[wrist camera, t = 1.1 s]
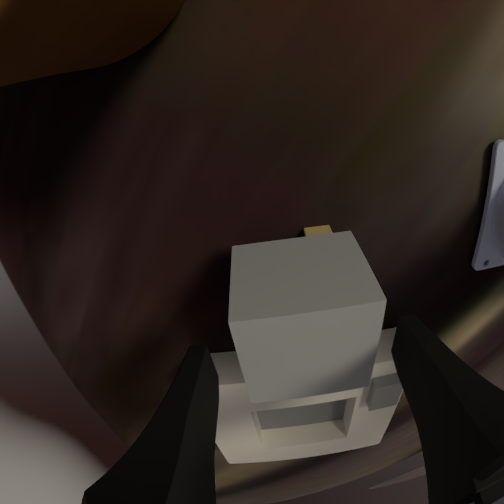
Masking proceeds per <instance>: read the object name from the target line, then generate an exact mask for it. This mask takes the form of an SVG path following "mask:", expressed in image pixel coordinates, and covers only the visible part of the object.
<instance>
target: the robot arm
mask: <svg viewBox="0 0 504 504" xmlns="http://www.w3.org/2000/svg"><path fill="white" fill-rule="evenodd" d="M501 265H504V140H497V141H496V142H495V143H494V145H493V149H492V159H491V167H490V175H489V182H488V189H487V195H486V201H485V207H484V212H483V217H482V222H481V227H480V231H479V236H478V240H477V244H476V248H475V252H474V256H473V260H472V267H473V268H474V269H475V270H476V271H479V270H483V269H488V268H492V267H497V266H501ZM391 353H392V357H393V361H394V365H395V368H396V372H397V375H398V377H399V380H400V382H401V385H402V388H403V390H404V393H405V395H406V398H407V400H408V403H409V405H410V408H411V411H412V413H413V416H414V418H415V422H416V425H417V428H418V432H419V437H420V441H421V446H422V451H423V456H424V461H425V469H426V476H427V485H428V500H429V504H504V391H503V390H501V389H500V388H498V387H496V386H495V385H493V384H492V383H490V382H489V381H488V380H486V379H485V378H484V377H482V376H481V375H479V374H478V373H477V372H475V371H474V370H473V369H472V368H471V367H469V366H468V365H467V364H466V363H465V362H464V361H462V360H461V359H460V358H459V357H458V356H457V355H456V354H455V353H454V352H452V351H451V350H450V349H449V348H448V347H447V346H446V345H445V344H444V343H443V342H442V341H441V340H440V339H439V338H438V337H437V336H436V335H435V334H434V333H433V332H432V331H431V330H430V329H429V328H428V327H427V326H426V325H425V324H424V323H423V322H422V321H421V320H420V319H419V318H418V317H417V316H415V315H414V314H408V315H403V316H399V319H398V324H397V328H396V332H395V337H394V341H393V345H392V349H391ZM218 408H219V376H218V373H217V371H216V368H215V365H214V363H213V360H212V357H211V355H210V352H209V349H208V347H207V344H203V345H191V346H190V347H189V348H188V350H187V353H186V355H185V357H184V360H183V362H182V364H181V366H180V368H179V370H178V372H177V375H176V377H175V379H174V380H173V382H172V384H171V386H170V388H169V390H168V392H167V394H166V396H165V397H164V399H163V401H162V402H161V404H160V406H159V408H158V409H157V411H156V413H155V414H154V416H153V417H152V419H151V420H150V422H149V423H148V425H147V426H146V428H145V429H144V430H143V432H142V433H141V434H140V436H139V437H138V438H137V440H136V441H135V442H134V443H133V445H132V446H131V447H130V448H129V449H128V451H127V452H126V453H125V454H124V455H123V456H122V457H121V458H120V460H118V461H117V463H115V464H114V466H113V467H112V468H111V469H110V470H109V471H108V472H107V473H106V474H105V475H103V476H102V477H101V478H100V479H99V480H97V481H96V482H95V483H94V484H93V485H92V486H90V487H89V488H88V489H87V490H86V491H85V492H84V496H83V499H82V504H216V495H215V472H214V452H215V440H216V430H217V419H218Z"/></svg>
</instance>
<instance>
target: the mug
mask: <svg viewBox="0 0 504 504" xmlns="http://www.w3.org/2000/svg"><path fill="white" fill-rule="evenodd" d="M183 2H184V0H0V87H2V86H6V85H10V84H14V83H18V82H23V81H27V80H32V79H37V78H41V77H46V76H51V75H56V74H60V73H66V72H73V71H80V70H86V69H92V68H97V67H101V66H105V65H108V64H112V63H114V62H117V61H119V60H122V59H124V58H126V57H128V56H130V55H132V54H133V53H135V52H137V51H138V50H140V49H141V48H143V47H144V46H146V45H147V44H148V43H150V42H151V41H152V40H153V39H155V38H156V37H157V36H158V35H159V34H160V33H161V32H162V31H163V30H164V29H165V28H166V27H167V26H168V24H169V23H170V22H171V21H172V20H173V18H174V17H175V15H176V14H177V13H178V11H179V10H180V8H181V6H182V4H183Z"/></svg>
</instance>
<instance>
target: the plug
mask: <svg viewBox="0 0 504 504" xmlns="http://www.w3.org/2000/svg"><path fill="white" fill-rule="evenodd" d="M386 302H387V299H386V297H385V295H384V293H383V291H382V289H381V287H380V285H379V283H378V281H377V279H376V277H375V275H374V273H373V272H372V270H371V268H370V266H369V264H368V262H367V260H366V258H365V256H364V254H363V252H362V251H361V249H360V247H359V245H358V243H357V241H356V240H355V238H354V236H353V234H352V232H351V231H346V232H338V233H332V230H331V228H330V226H329V225H324V226H316V227H308V228H304V237H299V238H291V239H283V240H275V241H268V242H260V243H253V244H245V245H237V246H232V258H231V276H230V296H229V316H228V323H229V327H230V331H231V334H232V338H233V342H234V345H235V349H236V352H237V356H238V359H239V363H240V366H241V370H242V373H243V377H244V380H245V384H246V387H247V390H248V394H249V397H250V400H251V403H261V402H271V401H280V400H289V399H297V398H304V397H311V396H318V395H324V394H330V393H336V392H342V391H347V390H353V389H358V388H363V387H368V386H369V384H370V380H371V376H372V372H373V367H374V363H375V358H376V354H377V349H378V345H379V340H380V335H381V330H382V324H383V319H384V313H385V308H386Z"/></svg>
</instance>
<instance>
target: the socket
mask: <svg viewBox="0 0 504 504" xmlns="http://www.w3.org/2000/svg"><path fill="white" fill-rule="evenodd" d="M396 328H397V327H394V328H390V329H385V330H381V335H380V340H379V345H378V349H377V354H376V358H375V363H374V367H373V372H372V376H371V380H370V384H369V386H368V387H363V388H358V389H353V390H347V391H342V392H336V393H330V394H324V395H318V396H311V397H304V398H297V399H289V400H280V401H271V402H261V403H251V400H250V397H249V394H248V390H247V387H246V384H245V380H244V377H243V373H242V370H241V366H240V363H239V359H238V356H237V352H236V351H231V352H220V353H210V355H211V357H212V360H213V363H214V365H215V368H216V371H217V373H218V376H219V408H218V419H217V430H216V440H215V443H216V444H217V446H218V447H219V449H220V450H221V452H222V454H223V455H224V457H225V458H226V460H227V461H228V463H229V464H235V463H255V462H268V461H279V460H289V459H297V458H305V457H312V456H319V455H325V454H331V453H337V452H342V451H348V450H353V449H358V448H362V447H367V446H371V445H375V444H379V443H380V441H381V439H382V437H383V435H384V433H385V431H386V429H387V427H388V424H389V422H390V420H391V418H392V416H393V413H394V411H395V409H396V407H397V404H398V402H399V400H400V397H401V395H402V392H403V388H402V385H401V382H400V380H399V377H398V375H397V372H396V368H395V365H394V361H393V357H392V353H391V349H392V345H393V341H394V337H395V332H396Z"/></svg>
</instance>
